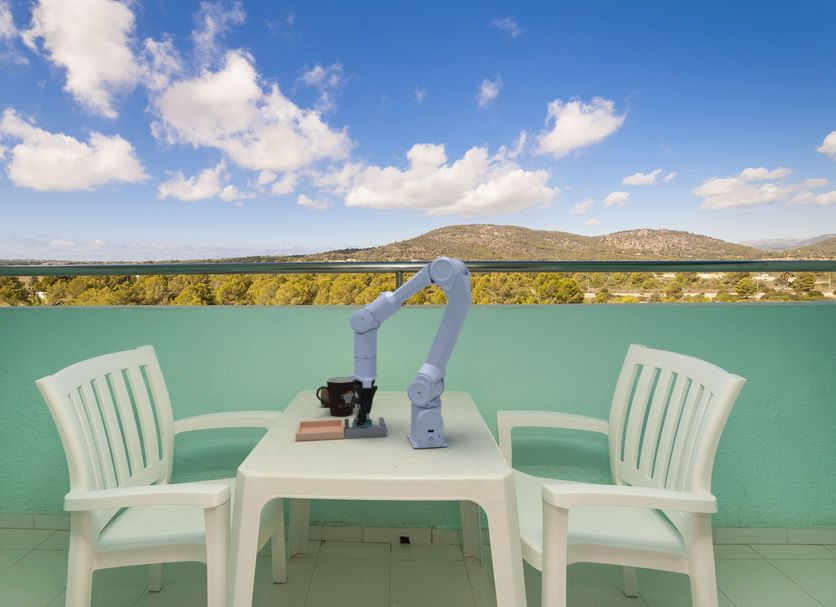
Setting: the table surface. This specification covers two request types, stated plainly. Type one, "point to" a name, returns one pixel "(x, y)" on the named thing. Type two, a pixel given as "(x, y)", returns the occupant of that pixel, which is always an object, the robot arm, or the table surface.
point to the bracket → (366, 430)
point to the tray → (320, 430)
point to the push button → (360, 415)
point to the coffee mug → (339, 396)
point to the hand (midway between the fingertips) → (364, 410)
